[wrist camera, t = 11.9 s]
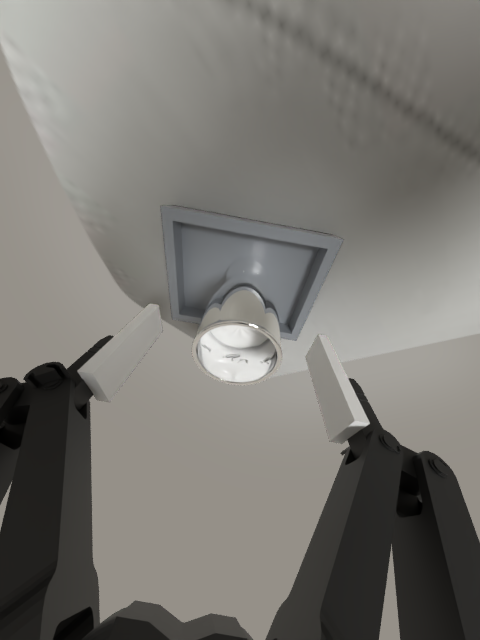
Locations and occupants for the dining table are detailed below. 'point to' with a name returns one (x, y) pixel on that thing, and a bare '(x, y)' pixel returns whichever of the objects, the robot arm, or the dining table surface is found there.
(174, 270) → the tray
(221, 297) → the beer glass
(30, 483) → the robot arm
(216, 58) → the dining table surface
